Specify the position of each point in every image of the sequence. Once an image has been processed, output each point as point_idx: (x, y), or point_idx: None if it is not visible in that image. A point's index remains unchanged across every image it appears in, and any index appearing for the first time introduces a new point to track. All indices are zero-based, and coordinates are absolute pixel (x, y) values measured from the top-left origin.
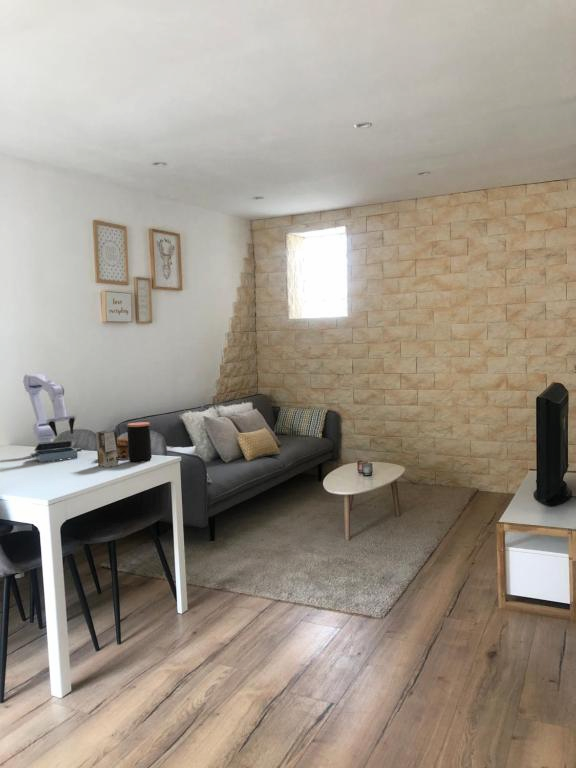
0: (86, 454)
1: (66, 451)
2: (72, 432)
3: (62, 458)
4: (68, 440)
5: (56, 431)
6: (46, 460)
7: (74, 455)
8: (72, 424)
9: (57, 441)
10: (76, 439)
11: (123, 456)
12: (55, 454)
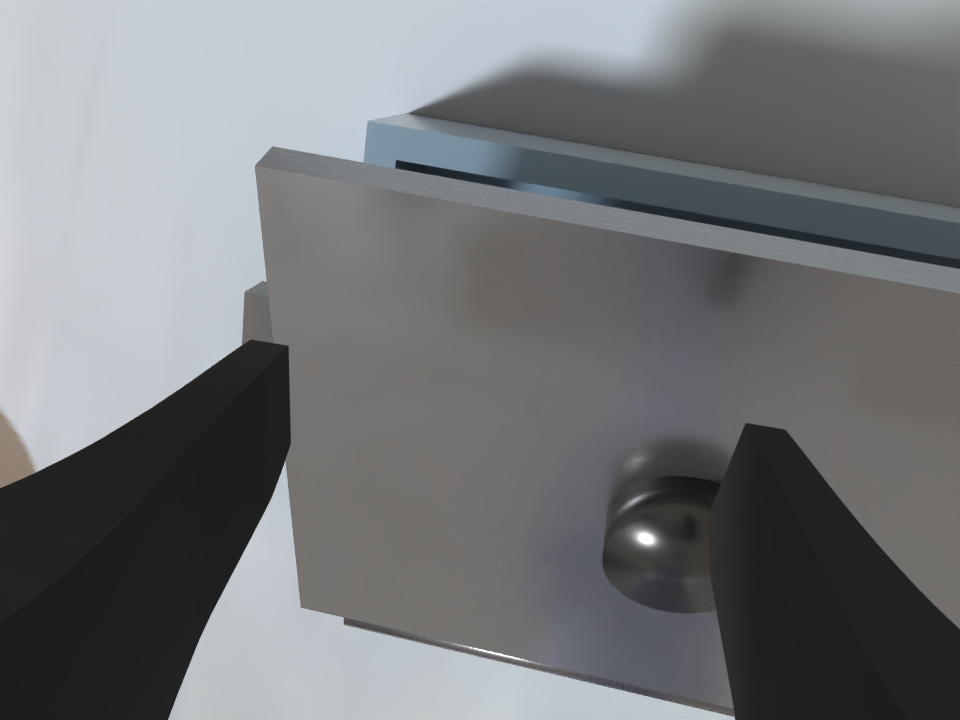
0: (194, 352)
1: (573, 172)
2: (254, 349)
3: (661, 159)
4: (486, 193)
5: (793, 504)
6: (950, 209)
7: (445, 125)
8: (63, 488)
9: (788, 251)
10: (273, 158)
11: None
12: (801, 190)
